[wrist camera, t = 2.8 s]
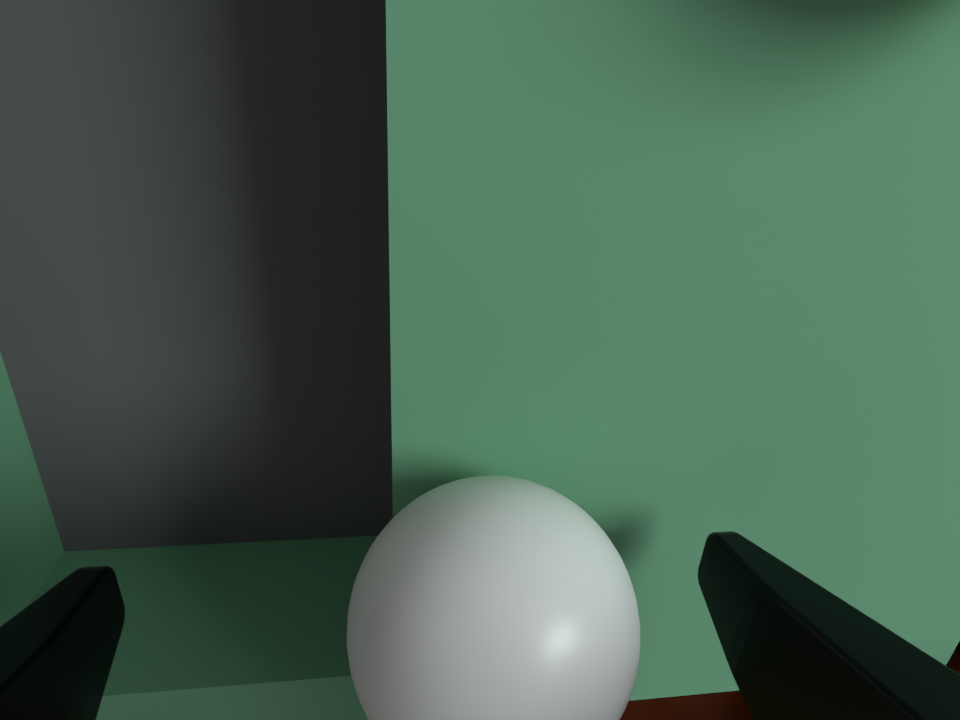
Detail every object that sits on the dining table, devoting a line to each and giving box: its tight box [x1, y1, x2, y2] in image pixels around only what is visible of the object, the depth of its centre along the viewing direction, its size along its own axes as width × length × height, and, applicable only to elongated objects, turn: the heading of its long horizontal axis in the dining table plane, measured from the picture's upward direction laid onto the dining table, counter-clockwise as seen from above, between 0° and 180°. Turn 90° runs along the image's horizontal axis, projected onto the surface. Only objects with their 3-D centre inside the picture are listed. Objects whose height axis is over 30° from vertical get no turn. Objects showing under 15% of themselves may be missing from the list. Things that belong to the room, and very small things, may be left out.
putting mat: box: [0, 0, 960, 720], centre depth 10 cm, size 21×22×4 cm
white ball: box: [347, 475, 640, 720], centre depth 8 cm, size 4×4×4 cm
